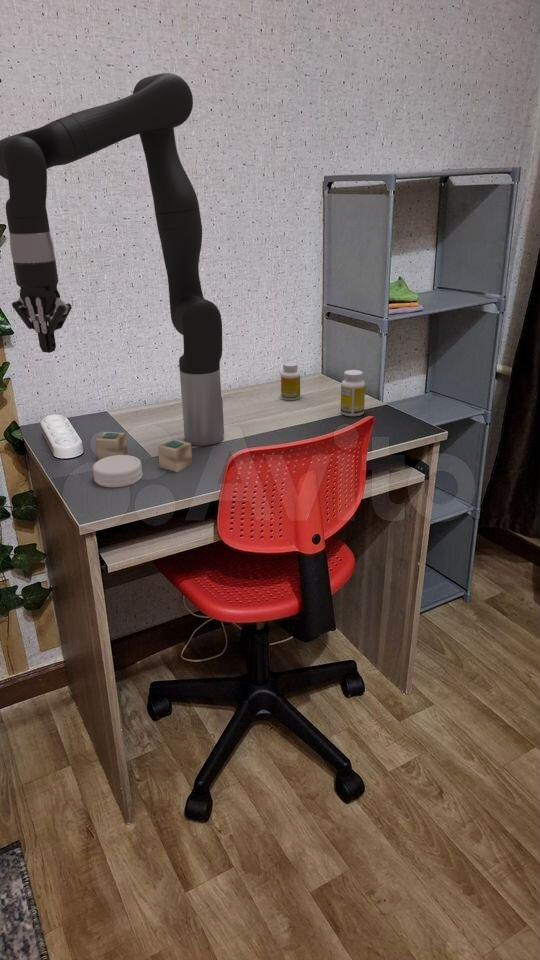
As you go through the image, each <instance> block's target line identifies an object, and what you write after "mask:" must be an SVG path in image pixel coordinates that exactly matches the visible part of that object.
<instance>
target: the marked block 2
mask: <svg viewBox="0 0 540 960" xmlns="http://www.w3.org/2000/svg"><path fill="white" fill-rule="evenodd" d="M157 449H158V450H157V453H158V461H159V462H158V463H159V468H161V469H165V470H168V471H172V472H176V473H179V472H180V471H183V470H184V469H186V468H188V467H190V466H191V465H193V457H192V456H193V455H192V445H191V443H187V442H186V441H183V440H180V439H175V438H173V439H171V440H168V441H166V442H164V443H162V444H160V445H158V446H157Z"/></svg>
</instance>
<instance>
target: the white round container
mask: <svg viewBox="0 0 540 960" xmlns="http://www.w3.org/2000/svg"><path fill="white" fill-rule="evenodd" d="M92 471H93V480H94V482H95V483H96V484H97V485H98V486H101V487H105V488H123V487H127V486H131V485H133V484H135V483H137V482H138V481H140V480H141V479H142V477H143V467H142V461H141V460H140V459H139V458H137V457H136V456H134V455H129V454H126V455H115V456H109V457H106V458H103V459H100V460H97V461H96V462H94V464H93V466H92Z"/></svg>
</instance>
